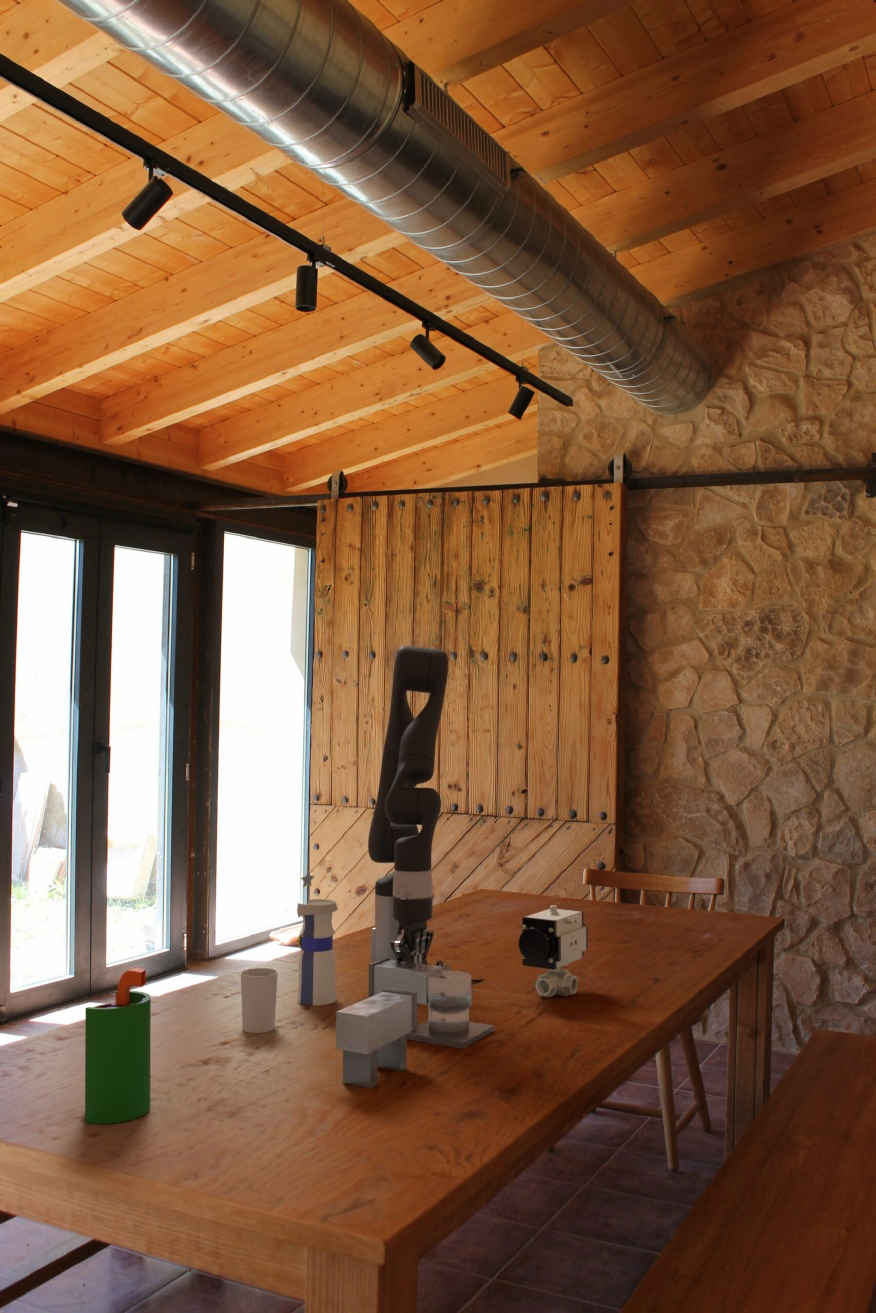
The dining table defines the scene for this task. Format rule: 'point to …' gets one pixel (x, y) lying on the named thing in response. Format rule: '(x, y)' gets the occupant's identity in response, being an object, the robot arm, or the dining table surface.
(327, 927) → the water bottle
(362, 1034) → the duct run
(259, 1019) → the white cup
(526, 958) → the ball valve
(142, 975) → the green container with spout
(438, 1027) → the duct stub
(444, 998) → the elbow
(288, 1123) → the dining table surface
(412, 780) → the robot arm
